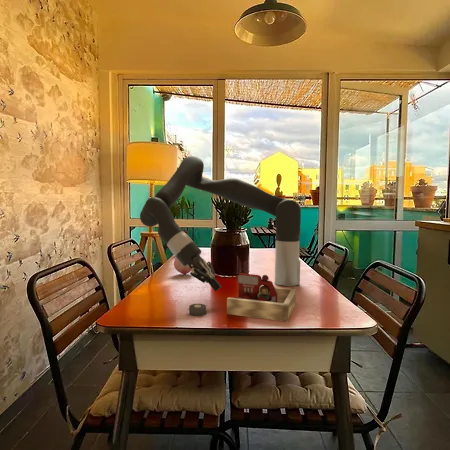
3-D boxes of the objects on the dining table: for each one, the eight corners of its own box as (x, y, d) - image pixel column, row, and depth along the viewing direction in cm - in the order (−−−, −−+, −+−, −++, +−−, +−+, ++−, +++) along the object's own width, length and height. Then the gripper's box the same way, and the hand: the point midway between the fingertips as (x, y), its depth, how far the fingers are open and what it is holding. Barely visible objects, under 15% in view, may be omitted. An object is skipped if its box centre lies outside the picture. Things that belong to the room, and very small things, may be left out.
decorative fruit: (195, 272, 151) (195, 250, 151) (194, 276, 143) (194, 253, 142) (174, 272, 151) (174, 250, 150) (172, 276, 143) (172, 253, 142)
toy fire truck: (274, 314, 98) (274, 278, 97) (233, 308, 102) (234, 275, 101) (278, 307, 104) (279, 273, 103) (240, 302, 108) (241, 270, 107)
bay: (226, 314, 97) (227, 298, 96) (243, 297, 114) (244, 284, 113) (287, 321, 91) (288, 305, 91) (296, 302, 108) (296, 289, 108)
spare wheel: (206, 310, 100) (206, 303, 100) (205, 316, 95) (205, 308, 95) (189, 310, 100) (189, 303, 100) (188, 316, 95) (188, 308, 95)
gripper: (185, 253, 117) (218, 291, 114) (167, 259, 104) (203, 302, 101) (199, 238, 115) (233, 277, 112) (182, 243, 102) (219, 286, 99)
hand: (218, 289), depth 107 cm, fingers closed
